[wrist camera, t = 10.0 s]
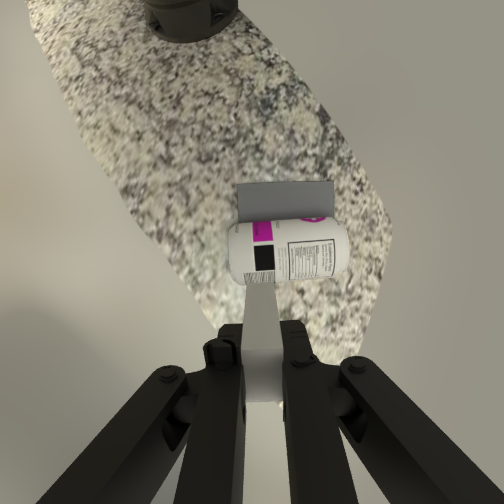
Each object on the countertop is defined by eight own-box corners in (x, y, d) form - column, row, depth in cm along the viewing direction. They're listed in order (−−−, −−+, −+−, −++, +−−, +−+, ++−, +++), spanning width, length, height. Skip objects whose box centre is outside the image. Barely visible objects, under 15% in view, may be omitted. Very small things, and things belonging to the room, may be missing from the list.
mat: (237, 184, 40) (236, 184, 40) (332, 181, 40) (333, 181, 39) (242, 270, 43) (242, 271, 43) (332, 265, 43) (333, 266, 43)
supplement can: (226, 214, 35) (344, 206, 35) (234, 236, 43) (331, 228, 43) (228, 279, 33) (354, 268, 32) (236, 289, 41) (338, 280, 40)
